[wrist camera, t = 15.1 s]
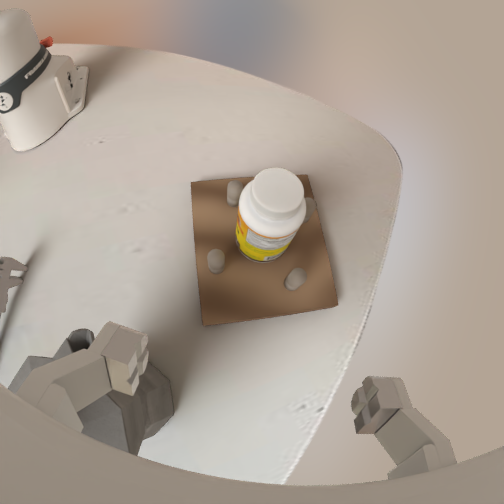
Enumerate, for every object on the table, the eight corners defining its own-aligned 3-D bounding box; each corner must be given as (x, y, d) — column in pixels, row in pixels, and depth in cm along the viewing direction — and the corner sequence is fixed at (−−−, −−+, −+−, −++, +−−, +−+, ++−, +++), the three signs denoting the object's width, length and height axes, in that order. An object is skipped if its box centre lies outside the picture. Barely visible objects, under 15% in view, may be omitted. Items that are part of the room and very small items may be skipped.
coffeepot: (111, 323, 27) (-2, 285, 10) (192, 355, 27) (145, 367, 10) (80, 442, 22) (-19, 493, 5) (156, 477, 22) (102, 575, 5)
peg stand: (191, 189, 33) (188, 167, 29) (304, 181, 35) (313, 160, 31) (203, 325, 28) (200, 321, 24) (333, 307, 30) (350, 300, 26)
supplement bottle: (247, 208, 31) (258, 148, 21) (294, 228, 31) (323, 176, 21) (225, 251, 29) (227, 202, 20) (275, 273, 29) (301, 234, 19)
